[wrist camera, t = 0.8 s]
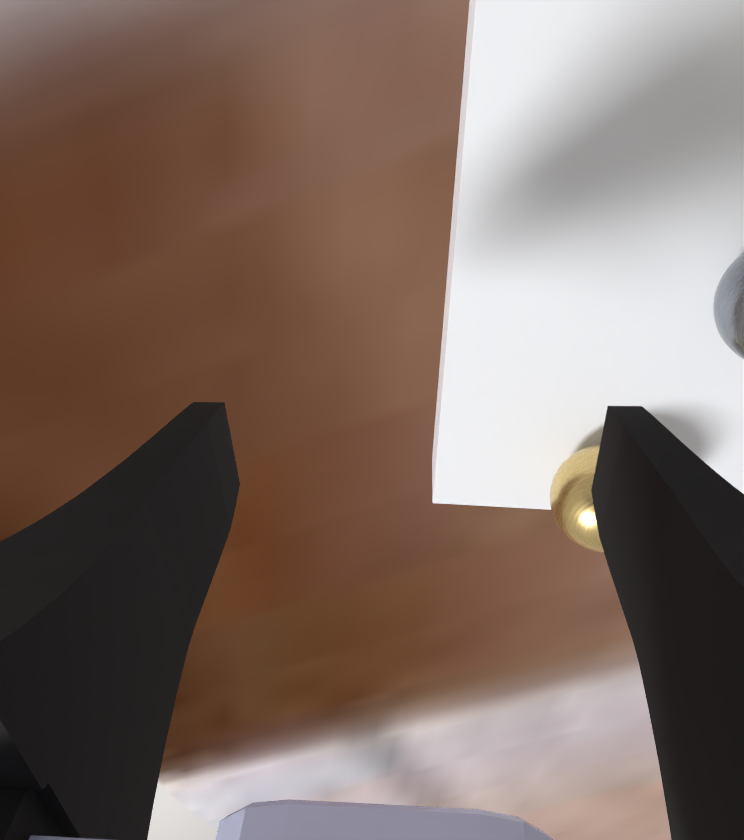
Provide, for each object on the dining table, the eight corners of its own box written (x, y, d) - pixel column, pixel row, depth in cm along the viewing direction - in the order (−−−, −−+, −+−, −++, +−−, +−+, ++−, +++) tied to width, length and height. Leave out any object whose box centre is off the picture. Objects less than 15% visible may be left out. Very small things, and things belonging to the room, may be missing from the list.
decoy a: (658, 425, 21) (691, 496, 18) (634, 505, 23) (660, 579, 20) (552, 420, 21) (569, 490, 18) (536, 499, 23) (549, 572, 20)
